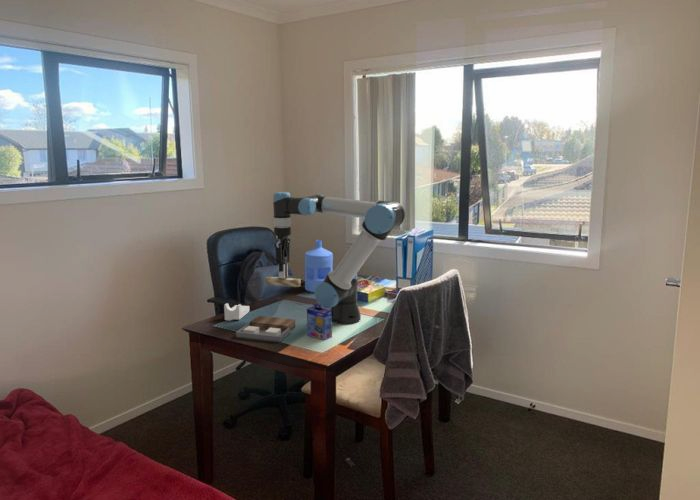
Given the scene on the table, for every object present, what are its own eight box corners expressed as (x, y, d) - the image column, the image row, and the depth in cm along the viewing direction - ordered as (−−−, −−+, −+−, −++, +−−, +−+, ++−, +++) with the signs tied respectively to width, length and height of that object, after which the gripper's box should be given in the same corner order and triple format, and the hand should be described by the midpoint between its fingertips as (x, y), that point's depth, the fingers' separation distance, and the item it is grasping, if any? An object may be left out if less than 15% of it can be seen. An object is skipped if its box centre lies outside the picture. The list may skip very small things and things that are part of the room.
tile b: (259, 332, 231) (259, 327, 231) (254, 336, 226) (254, 330, 226) (248, 331, 232) (248, 325, 232) (243, 335, 228) (243, 329, 227)
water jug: (309, 285, 311) (309, 237, 305) (335, 286, 307) (336, 238, 302) (301, 292, 296) (300, 242, 290) (328, 294, 292) (328, 243, 287)
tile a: (280, 334, 229) (280, 328, 229) (276, 338, 225) (276, 332, 224) (270, 333, 231) (270, 327, 230) (265, 337, 226) (265, 331, 225)
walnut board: (295, 326, 240) (295, 319, 240) (287, 333, 232) (287, 325, 231) (258, 322, 245) (258, 315, 244) (249, 329, 237) (249, 321, 236)
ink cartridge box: (306, 335, 230) (306, 303, 227) (314, 332, 234) (314, 300, 231) (324, 340, 224) (324, 307, 221) (332, 336, 229) (332, 304, 226)
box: (289, 333, 232) (289, 328, 231) (280, 342, 221) (279, 337, 221) (247, 329, 237) (247, 323, 236) (236, 337, 226) (235, 332, 226)
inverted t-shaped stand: (300, 285, 246) (300, 257, 244) (298, 286, 244) (298, 258, 241) (268, 282, 250) (267, 255, 248) (265, 284, 247) (265, 256, 245)
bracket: (239, 321, 247) (238, 306, 246) (224, 320, 249) (224, 304, 247) (249, 313, 260) (249, 298, 258) (235, 312, 261) (235, 297, 260)
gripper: (281, 223, 250) (282, 272, 255) (267, 228, 235) (268, 280, 239) (296, 224, 248) (297, 273, 253) (283, 229, 233) (284, 282, 238)
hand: (283, 277), depth 246 cm, fingers closed on inverted t-shaped stand, 3 cm apart
